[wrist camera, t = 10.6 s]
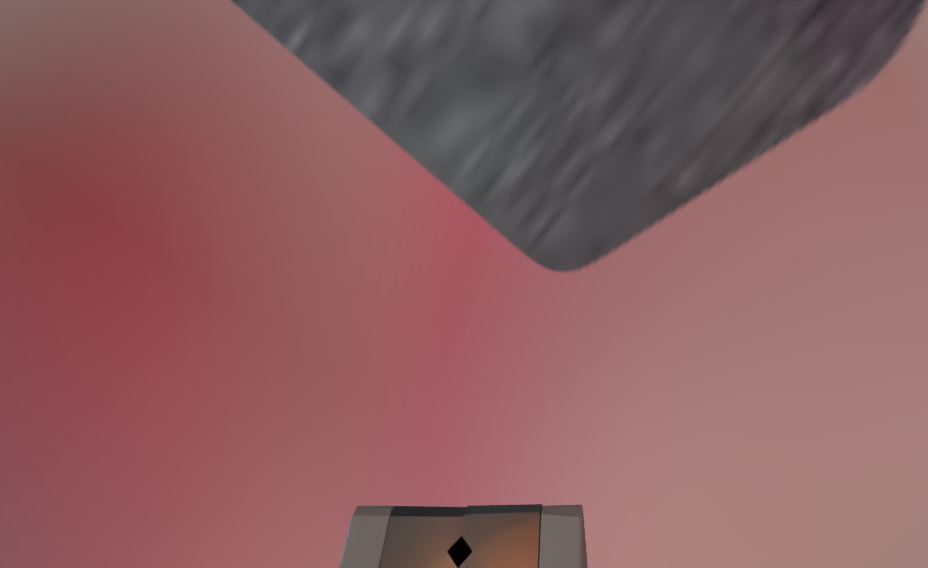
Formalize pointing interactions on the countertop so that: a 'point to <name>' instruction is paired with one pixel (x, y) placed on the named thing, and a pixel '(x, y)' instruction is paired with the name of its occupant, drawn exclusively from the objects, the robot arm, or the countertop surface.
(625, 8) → the countertop surface
